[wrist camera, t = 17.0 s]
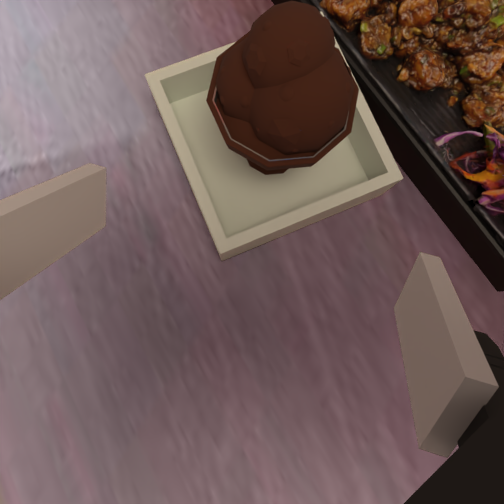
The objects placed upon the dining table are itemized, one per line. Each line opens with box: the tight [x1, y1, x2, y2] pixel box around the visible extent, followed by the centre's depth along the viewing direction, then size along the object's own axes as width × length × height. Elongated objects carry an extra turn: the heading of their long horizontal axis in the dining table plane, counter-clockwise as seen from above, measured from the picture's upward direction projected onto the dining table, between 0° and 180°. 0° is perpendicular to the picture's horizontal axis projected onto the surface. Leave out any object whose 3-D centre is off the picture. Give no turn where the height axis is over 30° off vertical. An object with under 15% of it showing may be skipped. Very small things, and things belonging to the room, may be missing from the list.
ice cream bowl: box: [206, 1, 359, 175], centre depth 30 cm, size 11×11×15 cm
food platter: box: [271, 0, 504, 291], centre depth 36 cm, size 45×25×10 cm, turn 36°
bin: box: [145, 11, 403, 261], centre depth 36 cm, size 17×17×5 cm
